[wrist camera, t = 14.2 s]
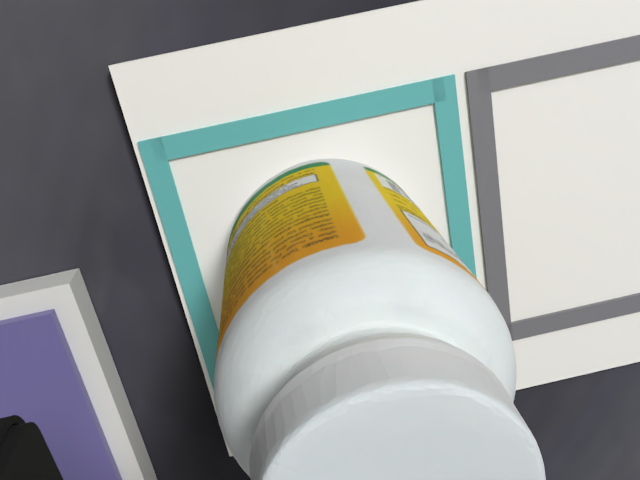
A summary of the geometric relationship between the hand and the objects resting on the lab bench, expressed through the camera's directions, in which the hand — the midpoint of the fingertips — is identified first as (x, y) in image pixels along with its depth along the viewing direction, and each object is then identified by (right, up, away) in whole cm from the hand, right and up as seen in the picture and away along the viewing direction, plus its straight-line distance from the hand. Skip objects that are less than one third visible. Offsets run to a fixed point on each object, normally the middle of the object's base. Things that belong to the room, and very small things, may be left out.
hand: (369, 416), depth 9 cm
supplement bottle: (-1, +2, +8) cm, 9 cm away
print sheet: (+4, +3, +9) cm, 10 cm away
